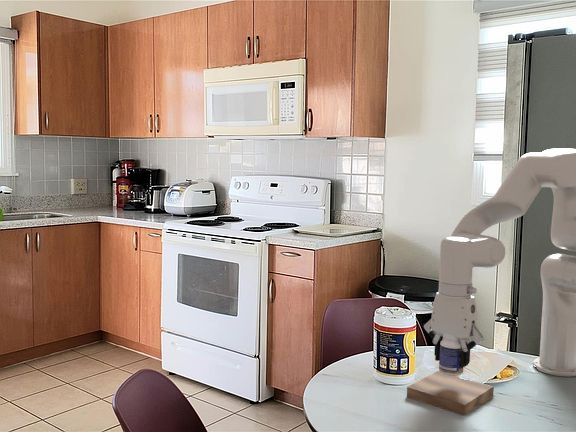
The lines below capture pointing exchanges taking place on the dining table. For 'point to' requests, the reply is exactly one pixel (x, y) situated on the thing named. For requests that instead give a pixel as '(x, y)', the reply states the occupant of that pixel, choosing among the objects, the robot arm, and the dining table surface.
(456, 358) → the pill bottle
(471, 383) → the walnut board
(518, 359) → the dining table surface
